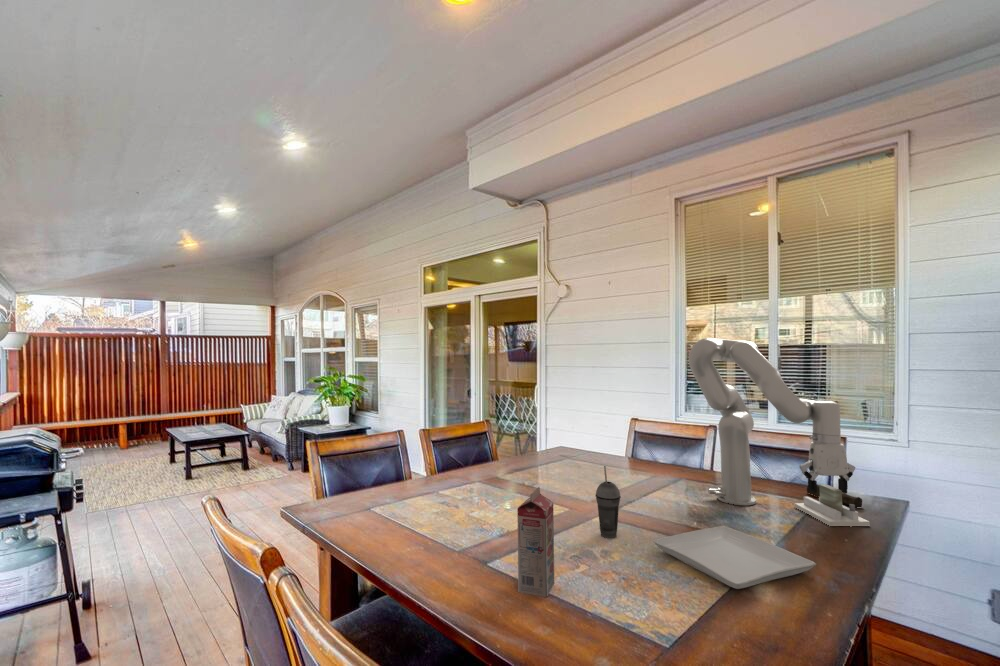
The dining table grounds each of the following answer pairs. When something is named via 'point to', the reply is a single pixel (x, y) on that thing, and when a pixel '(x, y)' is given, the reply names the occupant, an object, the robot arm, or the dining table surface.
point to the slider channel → (831, 513)
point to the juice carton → (536, 545)
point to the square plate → (733, 556)
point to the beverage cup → (608, 508)
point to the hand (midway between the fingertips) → (827, 491)
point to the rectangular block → (831, 497)
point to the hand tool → (845, 498)
